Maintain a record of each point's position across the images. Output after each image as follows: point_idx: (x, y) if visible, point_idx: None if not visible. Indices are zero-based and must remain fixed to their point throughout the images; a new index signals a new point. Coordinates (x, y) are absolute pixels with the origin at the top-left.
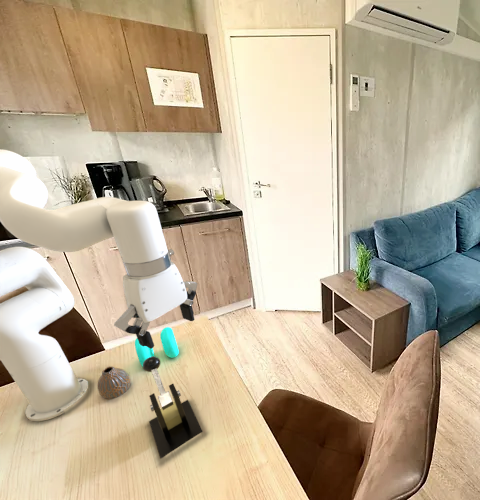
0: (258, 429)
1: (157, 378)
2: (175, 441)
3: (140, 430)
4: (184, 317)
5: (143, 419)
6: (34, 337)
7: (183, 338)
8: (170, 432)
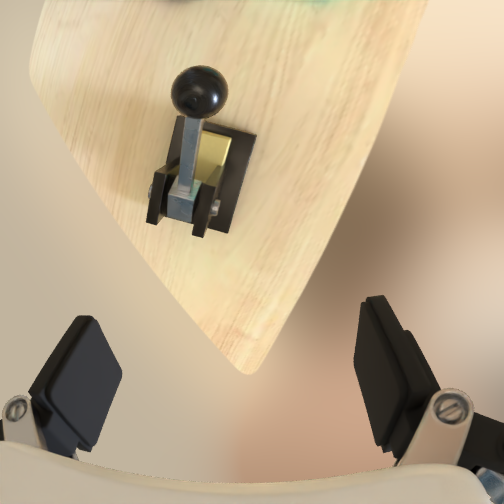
0: (287, 300)
1: (189, 149)
2: None
3: (163, 112)
4: (363, 321)
5: None
6: None
7: None
8: None
